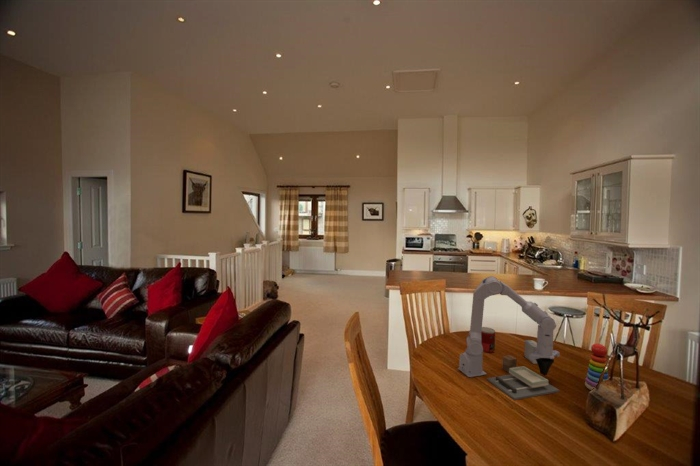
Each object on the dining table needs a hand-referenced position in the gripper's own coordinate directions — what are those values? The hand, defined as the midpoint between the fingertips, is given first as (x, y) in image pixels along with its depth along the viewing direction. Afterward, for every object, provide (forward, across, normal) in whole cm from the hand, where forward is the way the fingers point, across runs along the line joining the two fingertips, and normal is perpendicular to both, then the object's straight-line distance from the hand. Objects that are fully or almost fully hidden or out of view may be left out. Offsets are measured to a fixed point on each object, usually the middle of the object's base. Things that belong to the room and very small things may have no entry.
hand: (543, 374), depth 129 cm
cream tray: (+2, -8, 0) cm, 8 cm away
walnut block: (+3, -6, +12) cm, 14 cm away
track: (+3, -11, 0) cm, 12 cm away
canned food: (+4, -1, +33) cm, 33 cm away
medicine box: (+4, +13, +17) cm, 22 cm away
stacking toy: (+4, +17, -10) cm, 20 cm away
